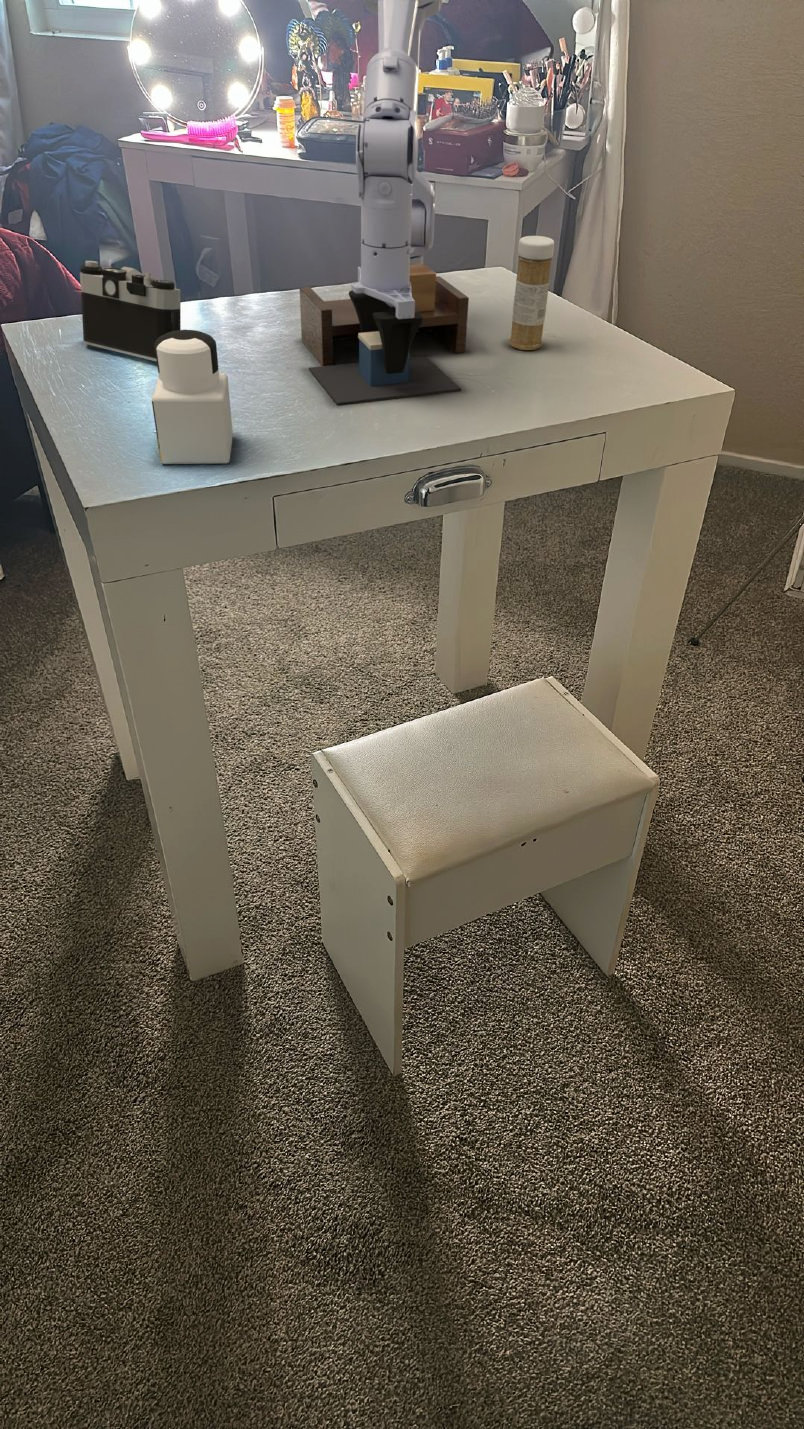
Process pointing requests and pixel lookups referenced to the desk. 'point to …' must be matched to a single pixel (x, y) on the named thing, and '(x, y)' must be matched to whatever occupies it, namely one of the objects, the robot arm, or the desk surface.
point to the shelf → (342, 323)
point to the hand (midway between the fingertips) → (383, 361)
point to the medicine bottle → (191, 400)
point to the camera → (127, 309)
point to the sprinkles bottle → (531, 291)
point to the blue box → (376, 361)
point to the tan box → (423, 287)
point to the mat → (354, 389)
